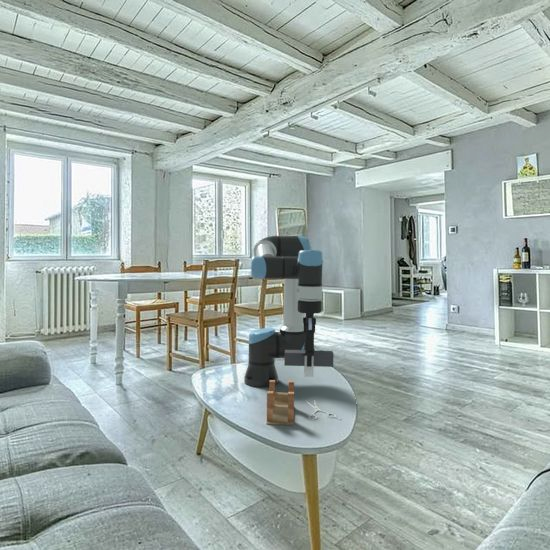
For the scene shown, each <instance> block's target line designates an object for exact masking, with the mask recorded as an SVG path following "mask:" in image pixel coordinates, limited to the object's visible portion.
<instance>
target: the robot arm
mask: <svg viewBox="0 0 550 550" xmlns="http://www.w3.org/2000/svg"><path fill="white" fill-rule="evenodd" d="M252 251H253V256H252V257H251V264H250V265H251V266H250V269H251V270H250V276H251V278H252V279H259V280H265V279H266V280H273V279H274V280H279V279H280V280H283V323H282V325H281V326H280V327H279V331H276V329H275V328H272V327H263V328H258V329H255V330H251V332H249V335H248V342H247V344H248V364H247V368H246V371H245V373H244V378H243V379H244V381H243V382H244V384H246V385H248V386H251V387H255V388H256V387H258V388H259V387H260V388H263V387H265V388H266V387H269V381H270V380H275V385H277V384H278V383H279V375H278V374H279V373H278V371H277V368H276V364H275V363H276V361H275V360H276V359H285V350H305V354H303V356H305V366H303V373H304V375H303V376H304V377H306V378H311V377H314V366H313V365H314V350H315V333H316V324H317V319H316V317H315V316H314V314H320V313H322V311H323V309H322V308H323V303H322V302H323V301H322V299H323V263H324V260H323V251H322V250H319V249H317V250H316V249H315V250H314V249H313V250H312V248H311V243H310V240H309V238H308V237H306V236H303V235H302V236H301V235H271V236H270V235H269V236H265V237H264V238H262V239H260V240H259V241H257V242H256V244H255V245H254V247H253V250H252ZM304 314H305V317H304Z"/></svg>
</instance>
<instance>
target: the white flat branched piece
mask: <svg viewBox="0 0 550 550" xmlns="http://www.w3.org/2000/svg"><path fill="white" fill-rule="evenodd" d="M305 402H306V403H307V404H308V405H309V406H310V407H311V408H312V409H313V410H314V412H312V414H310V415H308V417H307V418H308V420H311V421H315V420H318V416H317V415H315V414H317V413H318V412H320V413H323V412H324V414H326V417H327V416H328V417H327V418H329V417H331V419H337V418H338V419H337V420H339V419H340V417H338V416H337V415H336V414H334V413H330V412H327V411H325V410H322V409H320V408H319V407H318V404H317V402H316V400H315V399H313V404H311V403H310V402H309V401H307V400H305ZM314 405H315V406H314ZM316 405H317V406H316ZM329 414H332V415H329ZM334 415H335V416H334ZM311 417H314V418H311Z"/></svg>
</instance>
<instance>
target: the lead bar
mask: <svg viewBox="0 0 550 550" xmlns="http://www.w3.org/2000/svg"><path fill="white" fill-rule="evenodd" d="M303 354H305V350H285V358H284V366H286V367H287V366H288V367H291V366H292V367H304V366H305V356H303ZM313 367H321V368H322V367H323V368H324V367H325V368H326V367H327V368H328V367H329V368H330V367H331V368H333V367H334V352H333V350H314V365H313Z"/></svg>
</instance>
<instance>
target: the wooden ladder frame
mask: <svg viewBox="0 0 550 550" xmlns="http://www.w3.org/2000/svg"><path fill="white" fill-rule="evenodd" d="M294 418H295V380H288V392H279V391H278V392H276V384H275V380H270V381H269V386H268V391H267V392H266V423H265V424H266V425H281V426H294V425H295V423H294V422H295V419H294Z"/></svg>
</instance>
